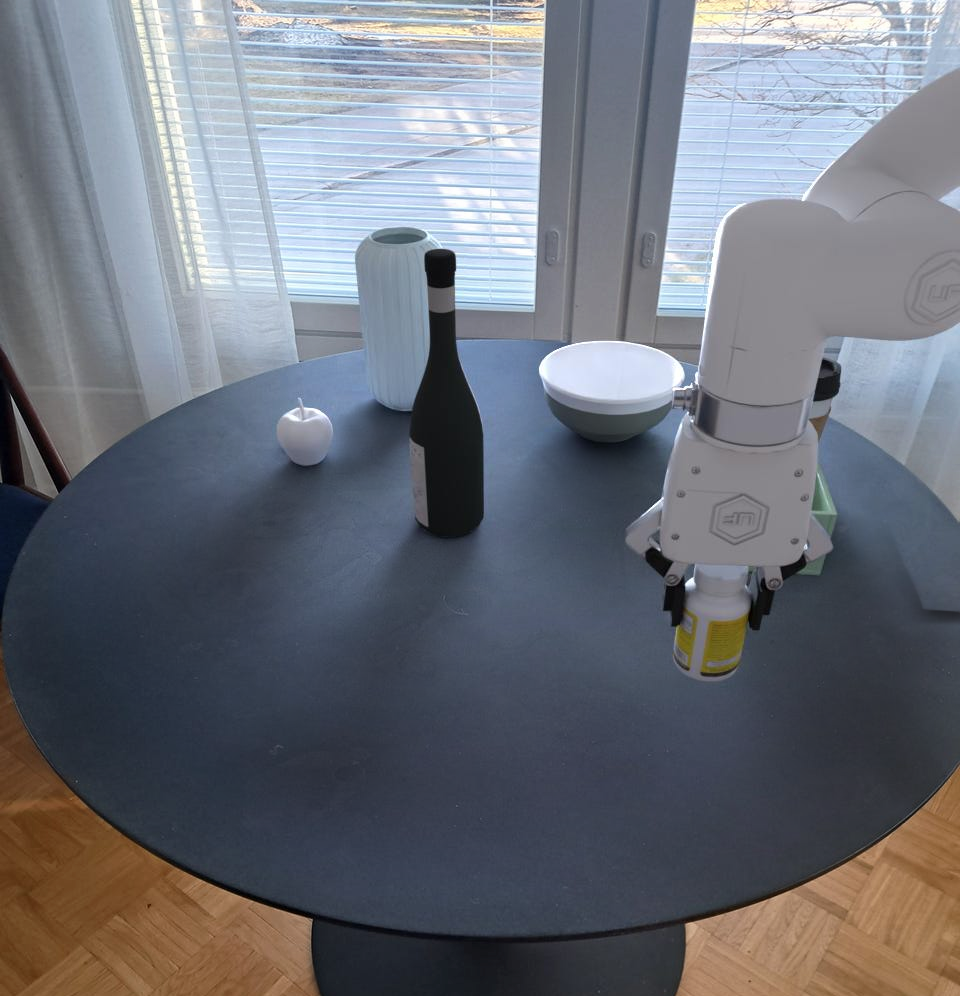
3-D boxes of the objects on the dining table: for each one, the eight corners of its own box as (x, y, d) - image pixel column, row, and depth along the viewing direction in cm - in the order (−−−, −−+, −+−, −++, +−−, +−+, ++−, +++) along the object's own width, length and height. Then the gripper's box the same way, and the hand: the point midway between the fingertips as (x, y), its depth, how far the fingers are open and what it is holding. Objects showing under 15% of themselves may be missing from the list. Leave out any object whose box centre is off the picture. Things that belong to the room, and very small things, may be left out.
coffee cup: (788, 506, 106) (818, 386, 96) (729, 479, 111) (752, 362, 101) (827, 481, 110) (860, 363, 101) (768, 456, 115) (794, 341, 105)
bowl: (520, 449, 117) (521, 389, 112) (556, 389, 130) (559, 333, 125) (664, 471, 112) (672, 410, 107) (686, 406, 126) (694, 349, 121)
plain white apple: (332, 442, 119) (324, 384, 114) (339, 468, 114) (332, 409, 109) (278, 449, 118) (268, 391, 112) (284, 475, 112) (274, 416, 107)
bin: (802, 518, 104) (818, 459, 99) (820, 575, 96) (837, 514, 91) (704, 513, 105) (714, 455, 100) (712, 569, 97) (724, 509, 92)
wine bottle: (408, 538, 102) (389, 264, 82) (421, 501, 108) (406, 237, 88) (479, 543, 101) (476, 268, 81) (488, 506, 107) (488, 240, 87)
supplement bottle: (748, 654, 75) (769, 559, 69) (722, 693, 72) (742, 596, 65) (688, 632, 78) (703, 538, 71) (660, 668, 74) (674, 572, 68)
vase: (353, 409, 126) (336, 243, 112) (391, 376, 134) (379, 217, 120) (428, 423, 123) (419, 254, 108) (461, 389, 131) (458, 227, 116)
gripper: (621, 430, 58) (604, 643, 70) (898, 437, 56) (833, 654, 68) (620, 380, 64) (604, 584, 75) (872, 384, 62) (815, 593, 74)
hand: (713, 615), depth 72 cm, fingers closed on supplement bottle, 5 cm apart
